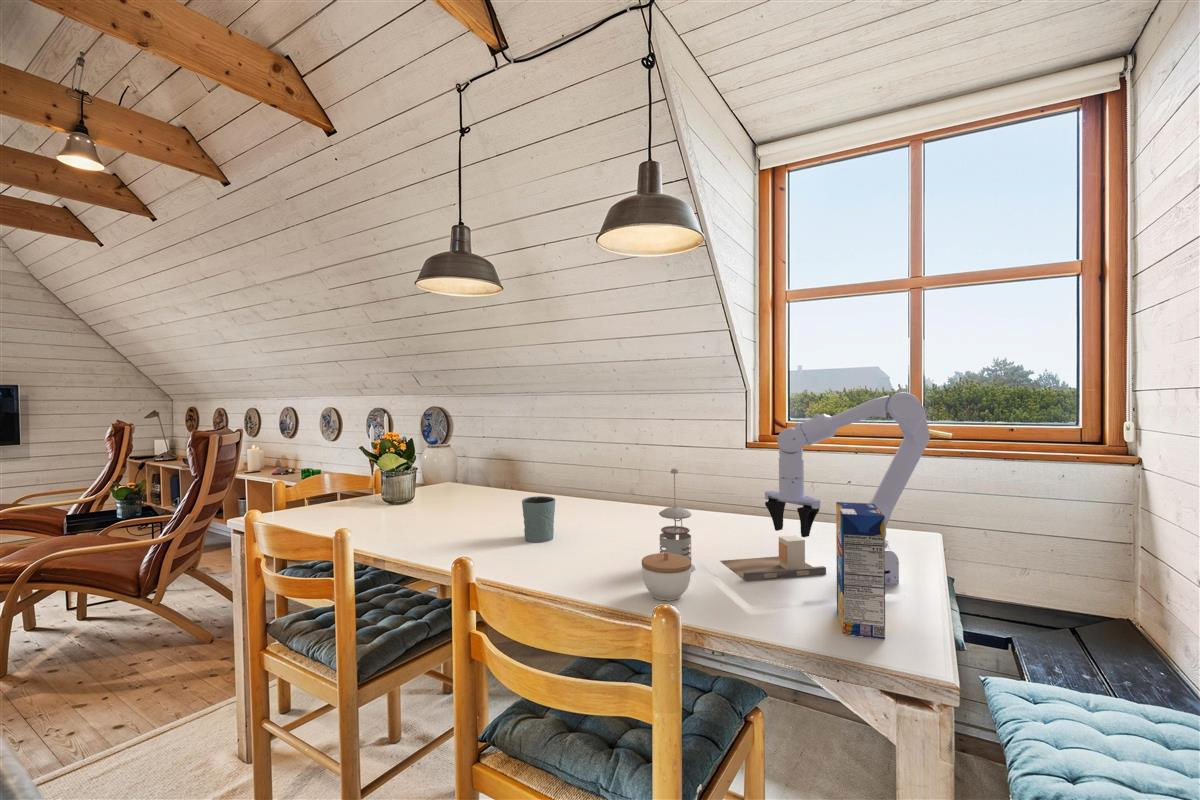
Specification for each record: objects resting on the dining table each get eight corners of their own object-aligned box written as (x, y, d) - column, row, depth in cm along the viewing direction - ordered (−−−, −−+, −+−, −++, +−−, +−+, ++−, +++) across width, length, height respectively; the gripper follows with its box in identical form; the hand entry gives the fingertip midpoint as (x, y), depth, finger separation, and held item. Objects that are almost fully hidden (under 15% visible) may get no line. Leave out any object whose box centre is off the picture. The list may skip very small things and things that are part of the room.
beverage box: (843, 635, 100) (842, 514, 100) (836, 611, 111) (836, 501, 110) (885, 639, 98) (884, 516, 98) (874, 615, 109) (874, 503, 108)
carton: (795, 563, 137) (795, 535, 137) (805, 569, 133) (804, 540, 133) (777, 564, 136) (777, 536, 136) (786, 570, 132) (786, 541, 132)
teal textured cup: (547, 532, 175) (546, 495, 174) (561, 540, 166) (561, 500, 166) (517, 537, 169) (516, 498, 169) (530, 545, 161) (529, 504, 160)
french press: (652, 572, 136) (651, 470, 135) (660, 558, 147) (659, 464, 146) (693, 575, 133) (692, 471, 132) (698, 561, 144) (696, 465, 144)
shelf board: (826, 579, 129) (826, 567, 129) (745, 586, 125) (745, 574, 125) (792, 559, 144) (792, 549, 144) (719, 565, 140) (719, 554, 140)
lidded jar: (672, 609, 113) (671, 563, 113) (631, 596, 120) (631, 553, 120) (701, 594, 121) (700, 551, 121) (661, 583, 128) (661, 542, 128)
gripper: (828, 479, 131) (828, 536, 131) (777, 472, 143) (777, 524, 143) (809, 482, 127) (810, 541, 127) (759, 474, 139) (759, 529, 139)
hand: (791, 533), depth 135 cm, fingers open, 7 cm apart
